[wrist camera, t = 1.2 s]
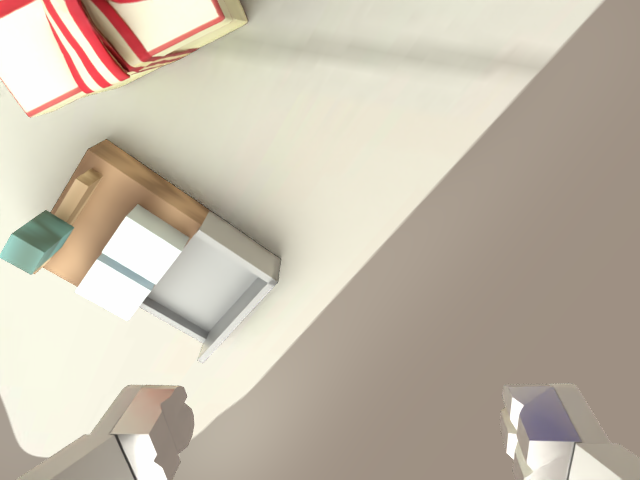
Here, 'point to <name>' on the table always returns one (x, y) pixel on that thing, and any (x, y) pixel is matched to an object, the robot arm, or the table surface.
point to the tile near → (145, 244)
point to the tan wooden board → (118, 208)
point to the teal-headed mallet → (49, 228)
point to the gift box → (99, 43)
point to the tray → (213, 284)
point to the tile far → (114, 287)
